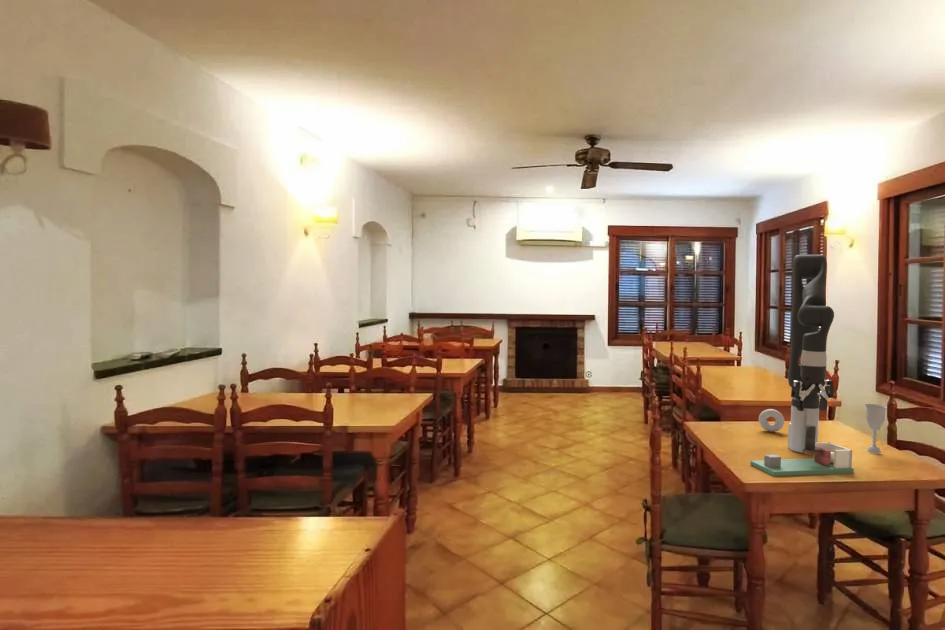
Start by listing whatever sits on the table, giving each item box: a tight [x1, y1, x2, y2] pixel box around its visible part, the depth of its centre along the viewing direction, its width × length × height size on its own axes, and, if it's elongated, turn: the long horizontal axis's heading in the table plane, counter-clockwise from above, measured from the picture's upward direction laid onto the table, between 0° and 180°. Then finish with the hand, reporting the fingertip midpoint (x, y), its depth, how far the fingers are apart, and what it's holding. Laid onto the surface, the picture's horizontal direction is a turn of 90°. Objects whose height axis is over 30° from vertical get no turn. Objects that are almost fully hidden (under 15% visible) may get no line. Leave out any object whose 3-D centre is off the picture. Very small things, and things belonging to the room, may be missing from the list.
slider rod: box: [802, 425, 831, 465], centre depth 196 cm, size 5×8×13 cm, turn 99°
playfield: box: [749, 454, 855, 477], centre depth 195 cm, size 12×30×5 cm, turn 99°
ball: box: [830, 452, 834, 464], centre depth 197 cm, size 4×4×4 cm
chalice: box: [864, 403, 888, 455], centre depth 216 cm, size 7×7×18 cm
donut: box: [758, 408, 785, 433], centre depth 246 cm, size 10×4×10 cm, turn 60°
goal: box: [815, 441, 853, 468], centre depth 197 cm, size 10×6×6 cm, turn 9°
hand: (811, 410), depth 195 cm, fingers open, 8 cm apart
